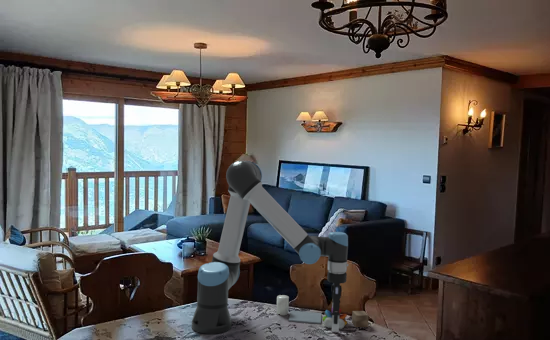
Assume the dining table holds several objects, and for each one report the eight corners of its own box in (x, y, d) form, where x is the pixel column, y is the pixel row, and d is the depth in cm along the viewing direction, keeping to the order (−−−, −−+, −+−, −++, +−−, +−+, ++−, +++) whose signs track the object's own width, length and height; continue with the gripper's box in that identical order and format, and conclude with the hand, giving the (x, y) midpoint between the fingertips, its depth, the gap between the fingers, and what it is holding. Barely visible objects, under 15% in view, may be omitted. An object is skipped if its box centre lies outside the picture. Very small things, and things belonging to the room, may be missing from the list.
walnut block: (355, 327, 173) (356, 315, 172) (351, 323, 178) (352, 311, 177) (367, 327, 173) (368, 315, 173) (363, 323, 178) (364, 310, 178)
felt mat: (288, 321, 176) (288, 319, 176) (291, 312, 187) (291, 310, 187) (320, 324, 175) (320, 322, 175) (321, 314, 186) (321, 313, 186)
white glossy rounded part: (275, 314, 183) (276, 298, 183) (277, 311, 188) (277, 294, 188) (287, 315, 183) (288, 299, 183) (288, 311, 188) (289, 295, 187)
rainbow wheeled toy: (346, 331, 169) (347, 312, 169) (321, 328, 171) (322, 309, 171) (347, 323, 177) (348, 305, 177) (323, 320, 179) (324, 303, 179)
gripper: (347, 280, 161) (345, 338, 161) (345, 265, 185) (343, 315, 185) (327, 279, 161) (325, 336, 162) (327, 263, 186) (325, 313, 186)
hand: (334, 325), depth 174 cm, fingers open, 12 cm apart
